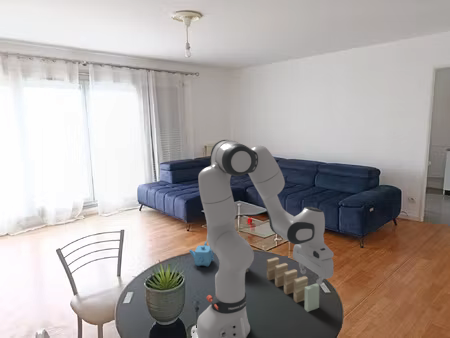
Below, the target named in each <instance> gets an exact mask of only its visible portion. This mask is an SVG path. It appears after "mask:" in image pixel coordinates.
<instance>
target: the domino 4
mask: <svg viewBox="0 0 450 338" xmlns="http://www.w3.org/2000/svg"><path fill="white" fill-rule="evenodd" d="M308 283H309V278H308V277H307V276H306V275H303V276H299V277H297V279H294V292H293V301H294V302H295V303H296V304H297V303H300V302H304V301H305V287H307V286H309V284H308Z"/></svg>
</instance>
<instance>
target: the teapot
mask: <svg viewBox="0 0 450 338" xmlns="http://www.w3.org/2000/svg"><path fill="white" fill-rule="evenodd" d="M207 244H208V241H207V240H205V242H204V245H197V246H196V247H195V250H194V251H193V250H192V249H190V250H188V252H189V253H190V254H191V256H192V257H193V259H194V262H193V263H194V265H195V266H196V267H200V266H205V267H207V268H208V267H209V266H210V265H211V263H212V261H214V260H215V257H214V255H215V253H214V252H213V251H212V250H211V248H210V246H209V245H207Z"/></svg>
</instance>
